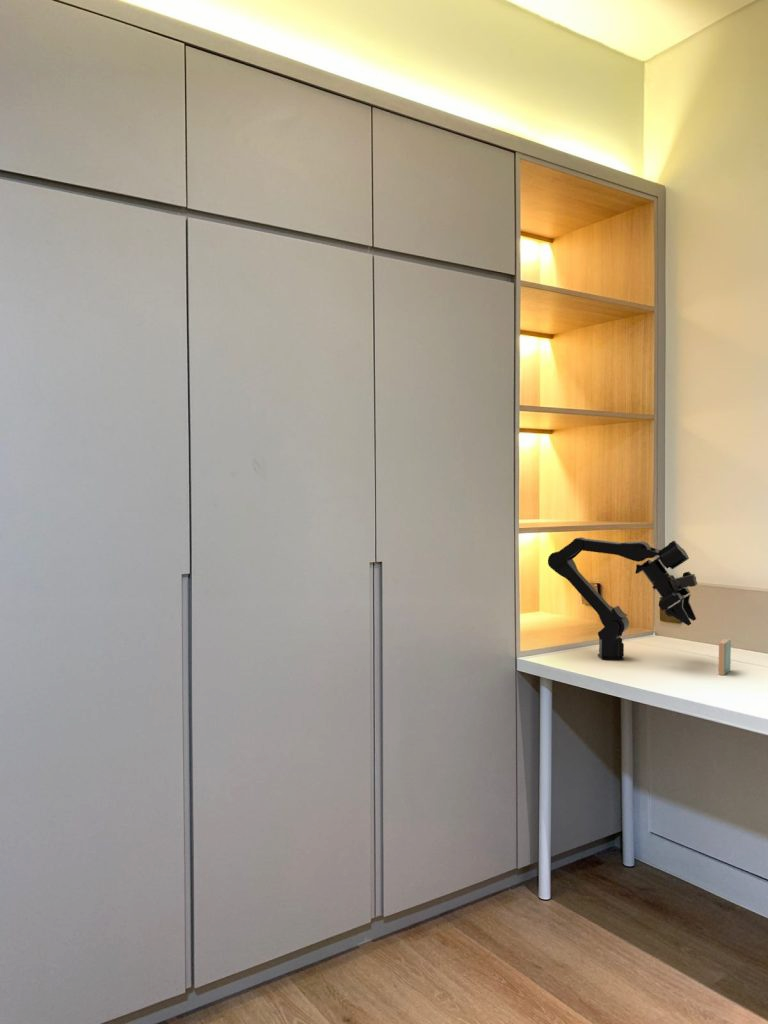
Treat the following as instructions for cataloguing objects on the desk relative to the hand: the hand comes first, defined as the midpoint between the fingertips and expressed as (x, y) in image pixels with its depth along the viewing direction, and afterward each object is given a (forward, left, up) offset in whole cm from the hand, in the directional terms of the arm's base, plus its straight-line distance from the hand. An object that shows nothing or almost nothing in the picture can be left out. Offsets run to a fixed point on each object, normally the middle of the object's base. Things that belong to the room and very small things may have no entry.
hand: (692, 622), depth 227 cm
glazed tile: (+6, -7, -13) cm, 16 cm away
